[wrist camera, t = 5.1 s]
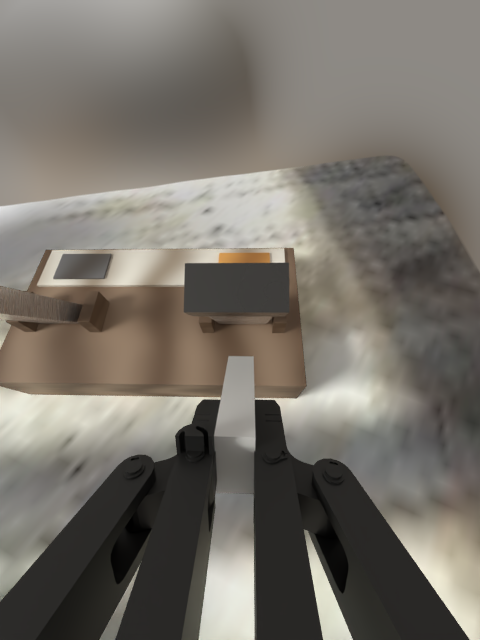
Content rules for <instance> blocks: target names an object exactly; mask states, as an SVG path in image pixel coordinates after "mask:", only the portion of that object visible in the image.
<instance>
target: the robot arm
mask: <svg viewBox="0 0 480 640" xmlns="http://www.w3.org/2000/svg"><path fill="white" fill-rule="evenodd" d="M175 438H176V447H177V455H176V456H174V457H172V458H170V459H167V460H163V461H159V462H155V463H154V461H153V460H152V458H151V457H149V456H147V455H135V456H131V457H129V458H127V459H126V460H124V461H123V462H122V463H120V464H119V465H118V466H117V468H116V469H115V470H114V471H113V472H112V473H111V474H110V476H109V477H108V478H107V479H106V480H105V481H104V483H103V484H102V485H101V486H100V487H99V488H98V490H97V491H96V492H95V493H94V494H93V495H92V496H91V498H90V499H89V500H88V501H87V502H86V503H85V505H84V506H83V507H82V508H81V509H80V510H79V511H78V513H77V514H76V515H75V516H74V517H73V518H72V520H71V521H70V522H69V523H68V524H67V525H66V527H65V528H64V529H63V530H62V531H61V532H60V533H59V535H58V536H57V537H56V538H55V539H54V540H53V542H52V543H51V544H50V545H49V546H48V547H47V549H46V550H45V551H44V552H43V553H42V554H41V555H40V557H39V558H38V559H37V560H36V561H35V562H34V564H33V565H32V566H31V567H30V568H29V569H28V571H27V572H26V573H25V574H24V575H23V576H22V577H21V579H20V580H19V581H18V582H17V583H16V584H15V586H14V587H13V588H12V589H11V590H10V591H9V593H8V594H7V595H6V596H5V597H4V598H3V599H2V601H1V602H0V640H99V639H100V637H101V635H102V633H103V631H104V629H105V628H106V626H107V624H108V622H109V620H110V618H111V616H112V615H113V613H114V611H115V609H116V607H117V605H118V604H119V602H120V600H121V598H122V596H123V594H124V592H125V591H126V589H127V587H128V585H129V583H130V581H131V580H132V578H133V576H134V574H135V572H136V570H137V568H138V567H139V565H140V567H139V570H138V573H137V576H136V579H135V582H134V585H133V588H132V591H131V594H130V598H129V601H128V604H127V607H126V610H125V613H124V616H123V619H122V622H121V625H120V628H119V631H118V634H117V637H116V640H198V638H199V630H200V623H201V615H202V607H203V599H204V591H205V584H206V576H207V568H208V560H209V552H210V544H211V537H212V529H213V521H214V513H215V492H217V493H239V494H254V604H255V640H323V637H322V631H321V626H320V620H319V614H318V609H317V603H316V597H315V592H314V586H313V580H312V575H311V569H310V563H309V557H308V552H307V546H306V540H305V535H304V529H305V530H307V531H308V532H309V535H310V537H311V540H312V542H313V544H314V547H315V549H316V552H317V554H318V557H319V559H320V561H321V564H322V566H323V569H324V571H325V573H326V576H327V578H328V581H329V583H330V585H331V588H332V590H333V593H334V595H335V597H336V600H337V602H338V605H339V607H340V609H341V612H342V614H343V617H344V619H345V621H346V624H347V626H348V629H349V631H350V633H351V636H352V638H353V640H469V638H468V637H467V635H466V634H465V632H464V631H463V630H462V628H461V627H460V625H459V624H458V623H457V621H456V620H455V618H454V617H453V615H452V614H451V613H450V611H449V610H448V608H447V607H446V605H445V604H444V603H443V601H442V600H441V598H440V597H439V595H438V594H437V593H436V591H435V590H434V588H433V587H432V586H431V584H430V583H429V581H428V580H427V578H426V577H425V576H424V574H423V573H422V571H421V570H420V568H419V567H418V566H417V564H416V563H415V561H414V560H413V559H412V557H411V556H410V554H409V553H408V551H407V550H406V549H405V547H404V546H403V544H402V543H401V541H400V540H399V539H398V537H397V536H396V534H395V533H394V532H393V530H392V529H391V527H390V526H389V524H388V523H387V522H386V520H385V519H384V517H383V516H382V514H381V513H380V512H379V510H378V509H377V507H376V506H375V505H374V503H373V502H372V500H371V499H370V497H369V496H368V495H367V493H366V492H365V490H364V489H363V487H362V486H361V485H360V483H359V482H358V480H357V479H356V478H355V476H354V475H353V473H352V472H351V471H350V470H349V468H348V467H347V466H346V465H344V464H343V463H341V462H339V461H337V460H333V459H322V460H319V461H317V462H316V464H315V465H314V466H313V465H310V464H307V463H304V462H301V461H299V460H297V459H296V458H294V457H293V456H292V455H291V454H290V453H289V451H288V449H287V446H286V441H285V435H284V429H283V423H282V417H281V411H280V406H279V405H278V404H277V403H276V401H275V400H255V394H254V356H229V357H228V362H227V367H226V373H225V378H224V384H223V389H222V395H221V400H202V401H201V402H200V404H199V405H198V406H197V408H196V411H195V415H194V418H193V421H192V424H190V425H187V426H185V427H183V428H182V429H180V430H179V431H178V432H177V434H176V435H175ZM140 563H141V564H140Z"/></svg>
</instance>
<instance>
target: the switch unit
mask: <svg viewBox="0 0 480 640" xmlns="http://www.w3.org/2000/svg"><path fill="white" fill-rule="evenodd" d="M185 263H289V313H288V314H287V315H286V316H284V317H272V318H271V319H270V320H269V322H268V323H267V324H219V323H218V322H216V321H215V320H213V319H211V318H210V317H208V316H191V315H188V314H186V313H184V277H185ZM24 292H29V293H33V294H37V295H42V296H46V297H51V298H55V299H60V300H64V301H68V302H73V303H77V304H82V305H83V306H82V309H81V312H80V315H79V318H78V321H77V322H78V323H33V322H22V321H12V320H7V321H6V322H7V323H9V324H11V327H10V330H9V332H8V334H7V336H6V338H5V340H4V343H3V345H2V347H1V349H0V386H2V387H6V388H9V389H13V390H17V391H20V392H24V393H28V394H42V395H111V396H179V397H221V395H222V389H223V384H224V378H225V373H226V367H227V362H228V357H229V356H254V394H255V398H297V397H298V396H299V394H300V393H301V392H302V391H303V390H304V388H305V387H306V377H305V366H304V355H303V344H302V334H301V323H300V312H299V302H298V291H297V280H296V269H295V259H294V248H239V249H104V250H46V251H45V253H44V255H43V258H42V260H41V262H40V264H39V266H38V268H37V271H36V273H35V275H34V277H33V279H32V282H31V284H30V286H29V288H28V290H27V291H24Z"/></svg>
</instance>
